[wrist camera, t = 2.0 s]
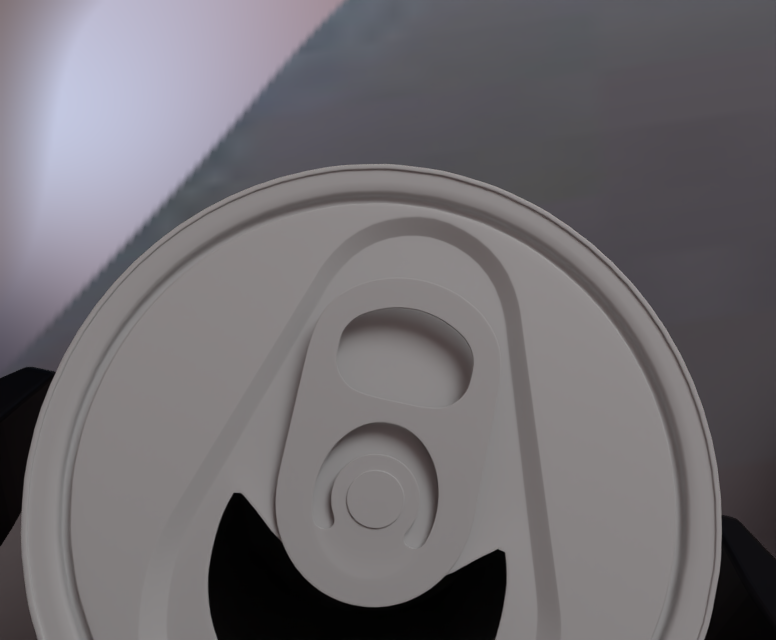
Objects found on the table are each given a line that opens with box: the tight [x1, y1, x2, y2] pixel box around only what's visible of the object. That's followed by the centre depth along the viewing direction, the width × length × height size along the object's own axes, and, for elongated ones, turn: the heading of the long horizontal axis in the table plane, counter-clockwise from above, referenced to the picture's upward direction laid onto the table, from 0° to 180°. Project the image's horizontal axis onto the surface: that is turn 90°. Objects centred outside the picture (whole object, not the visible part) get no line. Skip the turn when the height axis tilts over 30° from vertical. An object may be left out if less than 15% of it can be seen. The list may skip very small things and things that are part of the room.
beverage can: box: [21, 164, 722, 640], centre depth 11 cm, size 6×6×12 cm
